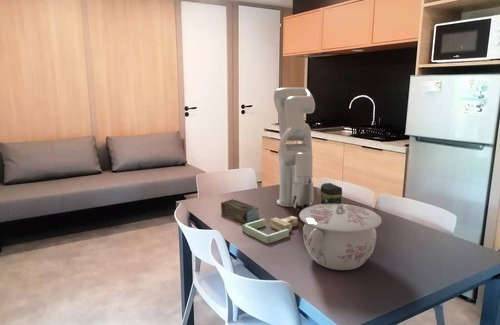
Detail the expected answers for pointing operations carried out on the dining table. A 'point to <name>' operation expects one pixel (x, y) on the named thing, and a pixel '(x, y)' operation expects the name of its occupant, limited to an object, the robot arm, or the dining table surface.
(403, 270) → the dining table surface
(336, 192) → the coffee jar
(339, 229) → the chamber pot
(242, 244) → the dining table surface
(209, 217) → the dining table surface
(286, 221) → the t block
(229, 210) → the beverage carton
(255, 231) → the dock
